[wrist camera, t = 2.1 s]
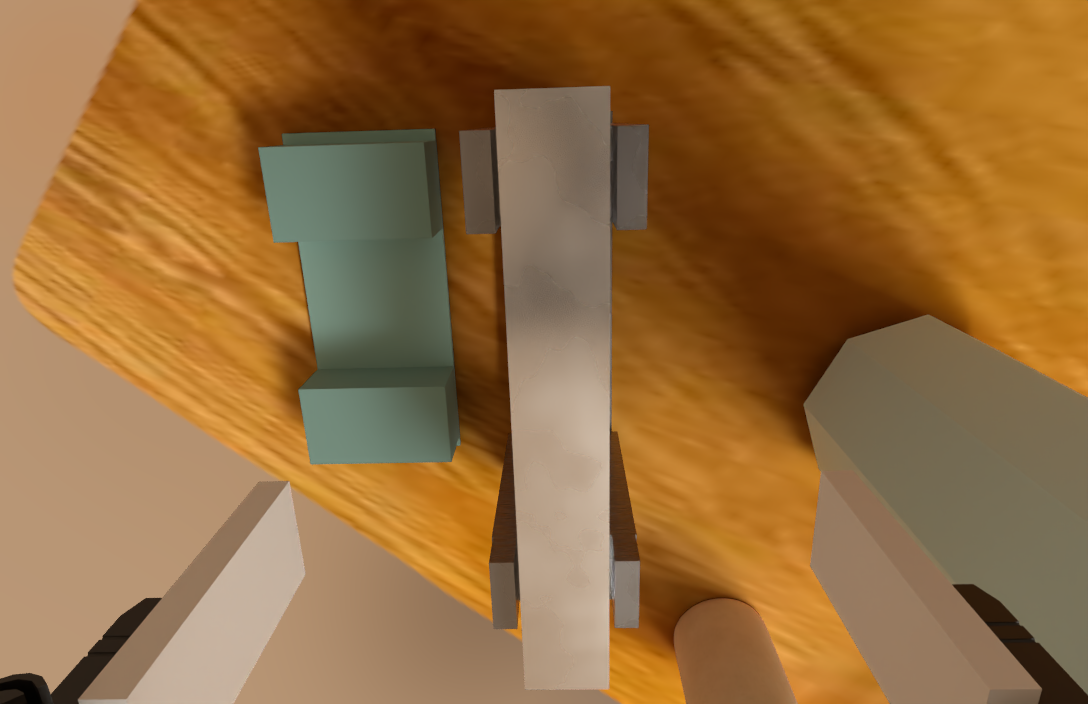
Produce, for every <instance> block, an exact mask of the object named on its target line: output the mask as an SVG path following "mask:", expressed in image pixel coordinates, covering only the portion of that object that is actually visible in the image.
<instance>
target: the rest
mask: <svg viewBox="0 0 1088 704" xmlns="http://www.w3.org/2000/svg"><path fill="white" fill-rule="evenodd" d="M282 140H283V145H280V146H269V147H259V148H258V150H259V156H260V162H261V168H262V174H263V180H264V186H265V192H266V198H267V204H268V210H269V216H270V222H271V228H272V234H273V240H274V243H275V242H298V244H299V250H300V257H301V263H302V270H303V276H304V283H305V289H306V296H307V302H308V309H309V315H310V322H311V328H312V335H313V342H314V348H315V355H316V361H317V368H318V370H317V371H316V372H315V373H314V374H313V375H312V376H311V377H310V378H309V379H308V380H307V381H306V382H305V383H304V384H303V385H302V386H301V387H300V388H299V389H298V391H299V397H300V403H301V409H302V415H303V421H304V427H305V433H306V439H307V445H308V451H309V457H310V463H311V464H356V463H415V462H451V461H452V458H453V455H454V452H455V449H456V446H460V443H461V441H460V429H459V416H458V404H457V392H456V379H455V367H454V354H453V342H452V330H451V317H450V305H449V292H448V280H447V268H446V255H445V243H444V230H443V218H442V205H441V193H440V181H439V168H438V156H437V143H436V131H435V129H410V130H380V131H349V132H318V133H287V134H282Z"/></svg>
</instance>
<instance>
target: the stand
mask: <svg viewBox="0 0 1088 704" xmlns="http://www.w3.org/2000/svg"><path fill="white" fill-rule="evenodd" d="M459 137H460V151H461V166H462V180H463V194H464V209H465V223H466V234H494V233H496V232H497V230H498V228H499V226H501V216H500V197H499V178H498V158H497V139H496V127H488V128H479V129H471V130H463V131H459ZM648 142H649V125H644V124H629V123H612V111H610V477H609V599H612V607H613V616H614V625H615V628H639V587H640V558H639V553H638V547H637V542H636V538H637V535H636V529H635V524H634V519H633V513H632V508H631V503H630V497H629V492H628V486H627V481H626V476H625V470H624V465H623V460H622V454H621V449H620V444H619V438H618V433H617V432H611V402H612V222H613V223H614V225H615V227H616V229H617V230H639V229H647V191H648ZM489 569H490V583H491V598H492V612H493V626H494V629H517V626H518V614H519V602H520V582H519V563H518V543H517V524H516V505H515V486H514V466H513V447H512V433H510V434H508V440H507V446H506V453H505V459H504V465H503V471H502V477H501V484H500V490H499V496H498V502H497V508H496V515H495V521H494V527H493V533H492V548H491V554H490V560H489Z"/></svg>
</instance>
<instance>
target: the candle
mask: <svg viewBox="0 0 1088 704" xmlns="http://www.w3.org/2000/svg"><path fill="white" fill-rule="evenodd" d="M674 648H675V653H676V658H677V663H678V667H679V672H680V676H681V681H682V686H683V690H684V695H685V699H686V704H798V703H797V701H796V698H795V696H794V694H793V691H792V689H791V686H790V684H789V681H788V679H787V676H786V674H785V671H784V669H783V667H782V664H781V662H780V659H779V657H778V654H777V652H776V649H775V647H774V644H773V642H772V640H771V637H770V635H769V633H768V630H767V628H766V626H765V623H764V621H763V620H762V618H761V617H760V615H759V614H758V613H757V612H756V611H755V610H754V609H753V608H752V607H751V606H749V605H747V604H745V603H743V602H741V601H738V600H734V599H727V598H717V599H711V600H706V601H703V602H701V603H698V604H696V605H694V606H693V607H691V608H690V609H689V610H687V611H686V612H685V613H684V614H683V615H682V616H681V618H680V619H679V621H678V623H677V624H676V627H675V631H674Z"/></svg>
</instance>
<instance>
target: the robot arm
mask: <svg viewBox="0 0 1088 704" xmlns="http://www.w3.org/2000/svg"><path fill="white" fill-rule="evenodd" d="M810 566H811V568H812V570H813V572H814V573H815V575H816V577H817V579H818V580H819V582H820V584H821V585H822V587H823V589H824V591H825V592H826V594H827V596H828V598H829V599H830V601H831V603H832V604H833V606H834V608H835V610H836V611H837V613H838V615H839V617H840V618H841V620H842V622H843V623H844V625H845V627H846V629H847V630H848V632H849V634H850V636H851V637H852V639H853V641H854V642H855V644H856V646H857V648H858V649H859V651H860V653H861V655H862V656H863V658H864V660H865V661H866V663H867V665H868V667H869V668H870V670H871V672H872V674H873V675H874V677H875V679H876V680H877V682H878V684H879V686H880V687H881V689H882V691H883V692H884V694H885V696H886V698H887V699H888V701H889V703H890V704H1088V695H1087V694H1086V693H1085V692H1084V690H1083V689H1082V688H1081V687H1080V686H1079V685H1078V684H1077V683H1076V682H1075V681H1074V680H1073V679H1072V678H1071V677H1070V675H1069V674H1068V673H1067V672H1066V671H1065V670H1064V669H1063V668H1062V667H1061V666H1060V665H1059V664H1058V663H1057V662H1056V661H1055V659H1054V658H1053V657H1052V656H1051V655H1050V654H1049V653H1048V652H1047V651H1046V650H1045V649H1044V648H1043V647H1042V646H1041V644H1040V643H1036V642H1035V638H1034V637H1033V636H1032V635H1031V634H1030V633H1029V632H1028V631H1027V629H1026V628H1025V627H1024V626H1020V624H1019V621H1018V620H1017V619H1016V618H1015V617H1014V616H1013V615H1012V613H1011V612H1010V611H1009V610H1008V609H1007V608H1006V607H1005V606H1004V605H1003V604H1002V603H1001V602H1000V601H999V600H997V599H996V598H994V597H993V596H991V595H990V594H988V593H986V592H985V591H983V590H982V589H980V588H979V587H977V586H976V585H974V584H951V583H950V582H949V581H948V580H947V578H946V577H945V576H944V575H943V574H942V573H941V571H940V570H939V569H938V568H937V567H936V566H935V565H934V563H933V562H932V561H931V560H930V559H929V558H928V556H927V555H926V554H925V553H924V552H923V551H922V549H921V548H920V547H919V546H918V545H917V544H916V543H915V541H914V540H913V539H912V538H911V537H910V536H909V534H908V533H907V532H906V531H905V530H904V529H903V527H902V526H901V525H900V524H899V523H898V522H897V521H896V519H895V518H894V517H893V516H892V515H891V514H890V512H889V511H888V510H887V509H886V508H885V507H884V506H883V504H882V503H881V502H880V501H879V500H878V499H877V497H876V496H875V495H874V494H873V493H872V492H871V490H870V489H869V488H868V487H867V486H866V485H865V484H864V482H863V481H862V480H861V479H860V478H859V477H858V475H857V474H856V473H855V472H854V471H853V470H841V471H821V478H820V487H819V495H818V504H817V512H816V521H815V529H814V538H813V546H812V555H811V563H810ZM304 576H305V568H304V562H303V557H302V551H301V545H300V539H299V534H298V528H297V522H296V517H295V511H294V505H293V500H292V494H291V488H290V482H289V481H274V482H258V483H257V485H256V486H255V487H254V488H253V490H252V491H251V492H250V493H249V494H248V496H247V497H246V498H245V499H244V500H243V502H242V503H241V504H240V505H239V506H238V508H237V509H236V510H235V511H234V512H233V514H232V515H231V516H230V517H229V518H228V520H227V521H226V522H225V523H224V524H223V526H222V527H221V528H220V529H219V530H218V532H217V533H216V534H215V535H214V536H213V538H212V539H211V540H210V541H209V543H208V544H207V545H206V546H205V547H204V548H203V550H202V551H201V552H200V553H199V555H198V556H197V557H196V558H195V559H194V561H193V562H192V563H191V564H190V566H188V568H187V569H186V570H185V571H184V573H183V574H182V575H181V576H180V577H179V579H178V580H177V581H176V582H175V583H174V585H173V586H172V587H171V588H170V589H169V591H168V592H167V593H166V594H165V595H164V597H163V598H146V599H144V600H143V601H141V602H140V603H138V604H137V605H136V606H134V607H133V608H131V609H130V610H128V611H127V612H125V613H124V614H122V615H121V616H120V617H119V618H118V619H117V620H116V621H115V623H114V624H113V625H112V626H111V627H110V628H109V629H108V630H107V632H106V633H105V634H104V635H103V638H102V640H99V641H98V642H97V643H96V644H95V645H94V646H93V647H92V649H91V650H90V651H89V652H88V656H87V657H84V658H83V659H82V660H81V661H80V662H79V663H78V664H77V665H76V667H75V668H74V669H73V670H72V671H71V672H70V673H69V674H68V676H67V677H66V678H65V679H64V680H63V681H62V682H61V684H60V685H59V686H58V687H57V688H56V689H55V690H54V691H53V693H52V694H51V695H50V692H49V689H48V686H47V684H46V682H45V680H44V679H43V677H42V676H39V675H35V674H32V673H26V674H16V675H11V676H8V677H5V678H1V679H0V704H233V703H234V702H235V700H236V698H237V696H238V694H239V693H240V690H241V689H242V687H243V685H244V684H245V682H246V680H247V678H248V676H249V675H250V673H251V671H252V669H253V667H254V666H255V664H256V662H257V660H258V659H259V657H260V655H261V653H262V651H263V650H264V648H265V646H266V644H267V642H268V640H269V639H270V637H271V635H272V633H273V632H274V630H275V628H276V626H277V624H278V623H279V621H280V619H281V617H282V615H283V613H284V612H285V610H286V608H287V606H288V605H289V603H290V601H291V599H292V597H293V596H294V593H295V592H296V590H297V588H298V587H299V585H300V583H301V581H302V579H303V578H304Z"/></svg>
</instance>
